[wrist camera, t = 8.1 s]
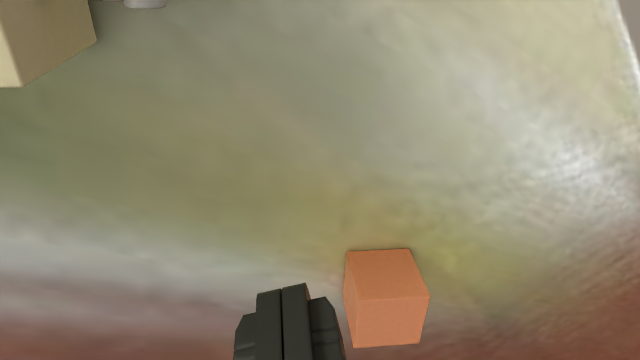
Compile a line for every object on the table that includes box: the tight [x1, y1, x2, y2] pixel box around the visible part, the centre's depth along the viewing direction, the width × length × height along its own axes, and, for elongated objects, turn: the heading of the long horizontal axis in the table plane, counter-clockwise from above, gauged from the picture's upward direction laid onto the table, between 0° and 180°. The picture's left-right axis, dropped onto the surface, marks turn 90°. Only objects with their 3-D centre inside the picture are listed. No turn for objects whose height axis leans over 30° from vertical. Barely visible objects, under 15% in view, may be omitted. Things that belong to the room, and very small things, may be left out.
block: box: [343, 248, 431, 348], centre depth 28 cm, size 5×5×5 cm
